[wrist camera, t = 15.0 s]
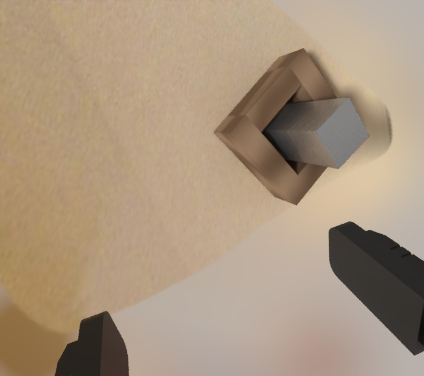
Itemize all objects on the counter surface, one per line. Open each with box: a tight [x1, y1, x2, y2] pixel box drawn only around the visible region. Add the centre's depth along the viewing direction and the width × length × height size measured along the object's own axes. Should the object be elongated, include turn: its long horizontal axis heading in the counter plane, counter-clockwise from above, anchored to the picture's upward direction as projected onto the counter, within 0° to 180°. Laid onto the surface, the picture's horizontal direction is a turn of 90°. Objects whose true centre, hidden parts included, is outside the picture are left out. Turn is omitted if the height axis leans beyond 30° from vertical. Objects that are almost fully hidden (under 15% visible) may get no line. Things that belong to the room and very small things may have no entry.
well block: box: [214, 48, 337, 205], centre depth 35 cm, size 12×12×4 cm
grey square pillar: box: [261, 97, 369, 169], centre depth 32 cm, size 4×4×11 cm
